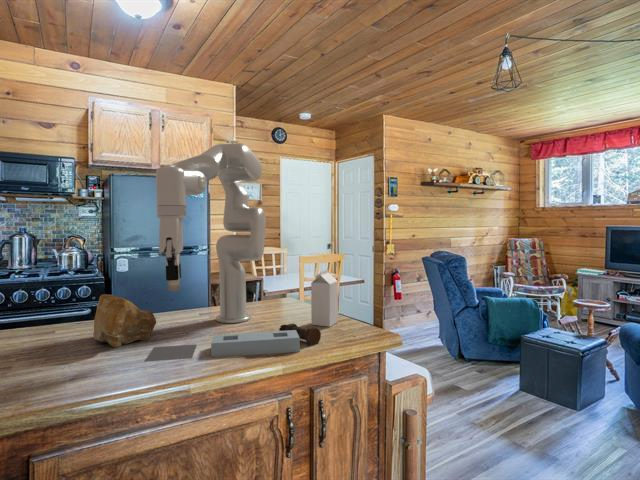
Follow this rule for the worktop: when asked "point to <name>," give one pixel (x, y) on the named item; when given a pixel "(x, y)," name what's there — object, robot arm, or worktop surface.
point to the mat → (171, 352)
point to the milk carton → (324, 300)
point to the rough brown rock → (121, 321)
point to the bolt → (304, 333)
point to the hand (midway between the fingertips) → (173, 278)
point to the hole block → (255, 343)
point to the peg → (174, 281)
